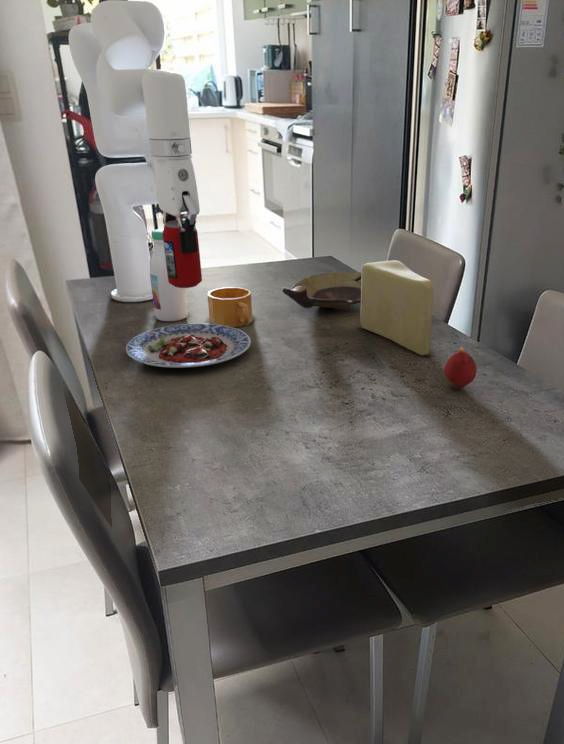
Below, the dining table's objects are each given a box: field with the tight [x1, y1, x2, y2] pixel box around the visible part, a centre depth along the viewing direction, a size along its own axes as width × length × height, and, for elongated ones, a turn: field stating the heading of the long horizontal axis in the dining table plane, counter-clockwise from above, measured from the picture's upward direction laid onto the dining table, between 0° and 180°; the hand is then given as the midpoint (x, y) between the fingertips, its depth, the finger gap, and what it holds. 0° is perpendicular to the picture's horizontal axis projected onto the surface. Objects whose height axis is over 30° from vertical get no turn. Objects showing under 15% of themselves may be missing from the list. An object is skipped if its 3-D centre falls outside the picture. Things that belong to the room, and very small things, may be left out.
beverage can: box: [162, 219, 203, 289], centre depth 138 cm, size 7×7×12 cm
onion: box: [444, 347, 478, 390], centre depth 129 cm, size 6×6×8 cm
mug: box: [207, 286, 254, 328], centre depth 162 cm, size 14×10×6 cm
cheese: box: [360, 259, 434, 356], centre depth 150 cm, size 22×10×15 cm, turn 24°
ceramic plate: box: [125, 322, 252, 369], centre depth 146 cm, size 26×26×3 cm
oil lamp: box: [281, 271, 362, 309], centre depth 174 cm, size 22×30×8 cm
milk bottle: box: [150, 228, 189, 322], centre depth 162 cm, size 8×8×20 cm
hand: (181, 248), depth 137 cm, fingers closed on beverage can, 6 cm apart
